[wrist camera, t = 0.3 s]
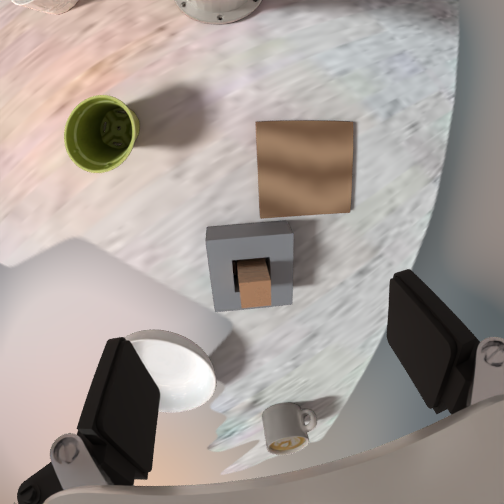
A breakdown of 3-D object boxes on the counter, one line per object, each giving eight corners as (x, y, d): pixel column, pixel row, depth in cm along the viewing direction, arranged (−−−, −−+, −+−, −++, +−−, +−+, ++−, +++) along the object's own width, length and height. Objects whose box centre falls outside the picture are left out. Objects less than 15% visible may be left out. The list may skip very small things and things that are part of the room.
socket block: (206, 227, 46) (205, 240, 42) (286, 220, 47) (293, 233, 42) (215, 293, 51) (215, 312, 47) (286, 287, 52) (292, 304, 48)
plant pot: (147, 163, 41) (131, 176, 33) (88, 158, 39) (62, 171, 31) (155, 98, 37) (140, 96, 29) (94, 96, 35) (67, 95, 27)
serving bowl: (236, 345, 57) (239, 371, 51) (185, 398, 64) (184, 422, 58) (137, 295, 50) (128, 320, 44) (101, 361, 57) (93, 385, 51)
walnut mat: (255, 121, 40) (256, 122, 39) (350, 121, 41) (353, 122, 40) (259, 216, 46) (260, 218, 45) (347, 210, 47) (350, 212, 46)
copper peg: (235, 248, 48) (239, 283, 39) (261, 246, 48) (270, 280, 39) (237, 271, 50) (241, 308, 41) (261, 268, 50) (271, 305, 41)
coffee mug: (271, 427, 72) (276, 458, 63) (255, 411, 68) (260, 445, 59) (318, 410, 71) (327, 441, 62) (306, 392, 66) (316, 426, 58)
